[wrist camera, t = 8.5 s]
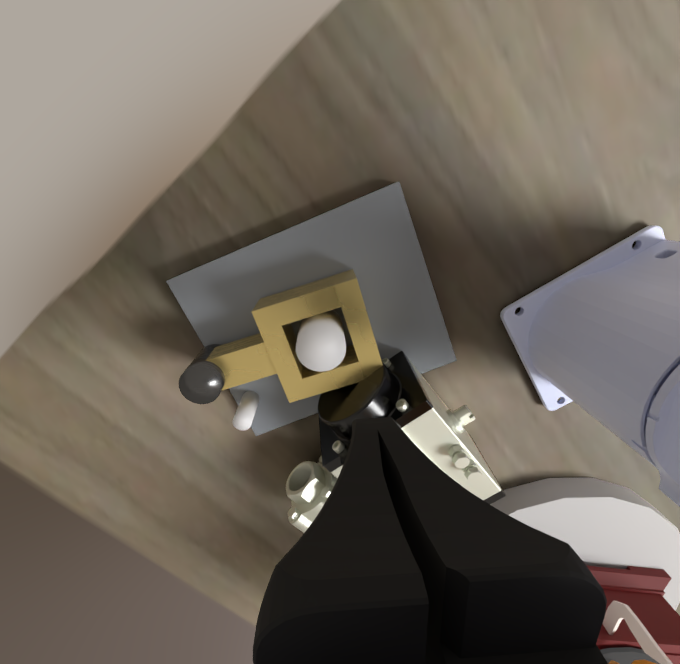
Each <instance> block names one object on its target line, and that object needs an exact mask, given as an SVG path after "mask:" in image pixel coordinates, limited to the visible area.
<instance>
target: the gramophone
mask: <svg viewBox="0 0 680 664" xmlns="http://www.w3.org/2000/svg"><path fill="white" fill-rule="evenodd" d="M503 491H504V492H505V494H506V496H505V497H503V498H501V499H499V500H497V501H496V502H494V503H492V504H491V506H493V507H495V508H496V509H498V510H500V511H502V512H503V513H505V514H507V515H509V516H511V517H513V518H515V519H516V520H518V521H520V522H522V523H524V524H526V525H528V526H530V527H532V528H534V529H537V530H539V531H541V532H543V533H546V534H548V535H550V536H552V537H555V538H557V539H559V540H561V541H564V542H566V543H568V544H569V545H570V546H571V547H572V549H573V550H574V551H575V552H576V553H577V555H578V556H579V557H580V558H581V559H582V561H583V562H584V563H585V565H586V566H587V567H588V569H589V570H590V571H591V573H592V574H593V576H594V577H595V578H596V580H597V581H598V583H599V584H600V585H601V587H602V588H603V590H604V592H605V596H606V599H607V605H606V613H605V617H604V620H603V623H602V626H601V630H600V633H599V636H598V639H597V643H596V645H597V647H598V648H599V650H600V651H601V653H602V655H603V656H604V658H605V659H606V661H607V663H608V664H680V616H679V615H678V613H677V612H676V609H677V607H678V604H679V602H680V533H679V531H678V529H677V527H676V526H674V525H673V524H672V523H671V522H670V521H669V520H668V519H667V518H666V517H665V516H664V515H663V514H661V513H660V512H659V511H658V510H657V509H656V508H655V507H654V506H652V505H651V504H650V503H648V502H647V501H646V500H644V499H643V498H642V497H640V496H639V495H638V494H636V493H635V492H634V491H632V490H631V489H630V488H628V487H624V486H621V485H617V484H614V483H610V482H607V481H603V480H600V479H596V478H593V477H585V478H547V479H543V480H539V481H535V482H532V483H528V484H524V485H520V486H516V487H513V488H509V489H505V490H503Z"/></svg>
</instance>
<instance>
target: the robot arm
mask: <svg viewBox="0 0 680 664" xmlns="http://www.w3.org/2000/svg"><path fill="white" fill-rule="evenodd" d="M635 241H636V245H635V247H633V248H632V244H633V242H635ZM518 307H520V312H519V313H517V314H515V310H516V309H517V308H518ZM500 317H501V320H502V322H503V324H504V326H505V328H506V330H507V332H508V334H509V336H510V338H511V340H512V342H513V344H514V346H515V348H516V350H517V353H518V355H519V357H520V359H521V361H522V363H523V365H524V367H525V369H526V371H527V373H528V375H529V377H530V379H531V381H532V383H533V385H534V387H535V389H536V391H537V393H538V395H539V397H540V399H541V401H542V403H543V405H544V407H545V408H546V409H548V410H550V411H554V410H556V409H558V408H560V407H562V406H564V405H566V404H568V403H570V402H572V401H574V402H575V403H576V404H578V405H579V406H580V407H581V408H583V409H584V410H585V411H586V412H588V413H589V414H590V415H591V416H593V417H594V418H595V419H596V420H598V421H599V422H600V423H601V424H603V425H604V426H605V427H606V428H608V429H609V430H610V431H611V432H613V433H614V434H615V435H616V436H618V437H619V438H620V439H621V440H623V441H624V442H625V443H626V444H628V445H629V446H630V447H631V448H633V449H634V450H635V451H636V452H638V453H639V454H640V455H641V456H643V457H644V458H645V459H646V460H648V461H649V462H650V463H651V464H653V465H654V466H655V467H656V468H657V469H658V470H659V472H660V479H661V480H660V485H659V489H660V490H661V491H662V492H663V493H664V494H665V495H667V496H668V497H669V498H670V499H671V500H672V501H674V502H675V503H676V504H677V505H678V506H679V507H680V241H672V240H665V236H664V233H663V230H662V228H661V227H660V226H656V225H650V226H647V227H645V228H643V229H642V230H640V231H638V232H636V233H635V234H633V235H631V236H629V237H628V238H626V239H624V240H622V241H621V242H619V243H617V244H615V245H614V246H612V247H610V248H608V249H606V250H605V251H603V252H601V253H599V254H598V255H596V256H594V257H592V258H591V259H589V260H587V261H585V262H584V263H582V264H580V265H578V266H577V267H575V268H573V269H571V270H570V271H568V272H566V273H564V274H563V275H561V276H559V277H557V278H556V279H554V280H552V281H550V282H549V283H547V284H545V285H543V286H542V287H540V288H538V289H536V290H535V291H533V292H531V293H529V294H528V295H526V296H524V297H522V298H521V299H519V300H517V301H515V302H514V303H512V304H510V305H508V306H507V307H505V308H504V309H503V310H502V311H501V314H500ZM560 397H561V399H560V400H559V401H557V400H558V398H560ZM606 605H607V599H606V596H605V592H604V590H603V588H602V587H601V585H600V584H599V583H598V581H597V580H596V578H595V577H594V576H593V574H592V573H591V571H590V570H589V569H588V567H587V566H586V565H585V563H584V562H583V561H582V559H581V558H580V557H579V556H578V555H577V553H576V552H575V551H574V550H573V549H572V547H571V546H570V545H569V544H568V543H566V542H564V541H561V540H559V539H557V538H555V537H552V536H550V535H548V534H546V533H543V532H541V531H539V530H537V529H534V528H532V527H530V526H528V525H526V524H524V523H522V522H520V521H518V520H516V519H515V518H513V517H511V516H509V515H507V514H505V513H503V512H502V511H500V510H498V509H496V508H495V507H493V506H491V505H490V504H488V503H487V502H485V501H483V500H482V499H480V498H479V497H477V496H475V495H474V494H472V493H471V492H470V491H468V490H467V489H465V488H464V487H463V486H461V485H460V484H459V483H457V482H456V481H455V480H453V479H452V478H451V477H449V476H448V475H447V474H446V473H444V472H443V471H442V470H441V469H440V468H439V467H438V466H437V465H435V464H434V463H433V462H432V461H431V460H430V459H429V458H428V457H427V456H426V455H425V454H424V453H423V452H422V451H421V450H420V449H419V448H418V447H417V446H416V445H415V444H414V443H413V442H412V441H411V439H410V438H409V437H408V436H407V435H406V434H405V433H404V432H403V430H402V429H401V428H400V427H399V426H398V424H397V423H396V422H395V421H394V420H393V419H392V418H391V417H385V418H367V419H355V420H354V421H353V422H352V437H351V442H350V446H349V449H348V453H347V456H346V459H345V462H344V464H343V467H342V469H341V472H340V474H339V477H338V479H337V481H336V483H335V485H334V487H333V489H332V491H331V493H330V495H329V497H328V499H327V500H326V502H325V504H324V505H323V507H322V509H321V510H320V512H319V513H318V515H317V516H316V518H315V519H314V521H313V522H312V523H311V525H310V526H309V527H308V529H307V530H306V531H305V533H304V534H303V535H302V537H301V538H300V539H299V541H298V542H297V543H296V544H295V545H294V546H293V548H292V549H291V550H290V551H289V552H288V553H287V554H286V555H285V556H284V557H283V559H282V560H281V561H280V562H279V563H278V564H277V565H276V566H275V569H274V571H273V574H272V576H271V579H270V581H269V584H268V586H267V589H266V592H265V595H264V598H263V601H262V604H261V608H260V612H259V616H258V620H257V625H256V632H255V639H254V645H253V663H254V664H608V663H607V661H606V659H605V658H604V656H603V655H602V653H601V651H600V650H599V648H598V647H597V645H596V643H597V639H598V636H599V633H600V630H601V626H602V623H603V620H604V617H605V613H606Z"/></svg>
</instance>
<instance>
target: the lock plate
mask: <svg viewBox="0 0 680 664" xmlns="http://www.w3.org/2000/svg"><path fill="white" fill-rule="evenodd" d="M351 269H353V271H354V273H355V275H356V278H357V281H358V284H359V287H360V291H361V294H362V297H363V301H364V304H365V307H366V311H367V314H368V317H369V321H370V324H371V327H372V331H373V334H374V337H375V341H376V344H377V347H378V351H379V354H380V357H381V360H382V359H384V358H388V359H390V358H391V357H393V356H394V355H396V354H397V353H399V352H400V351H403V352H404V353H405V355H406V356H407V357H408V358H409V360H410V361H411V362H412V363H413V365H414V366H415V367H416V369H417V370H418V371H419V373H420V374H422V373H425V372H427V371H430V370H433V369H435V368H438V367H441V366H443V365H446V364H449V363H451V362H454V361H457V360H456V357H455V354H454V351H453V348H452V344H451V341H450V338H449V335H448V332H447V329H446V326H445V323H444V319H443V316H442V313H441V310H440V307H439V304H438V301H437V298H436V295H435V291H434V288H433V285H432V282H431V279H430V276H429V273H428V270H427V266H426V263H425V260H424V257H423V254H422V251H421V248H420V245H419V241H418V238H417V235H416V232H415V229H414V226H413V223H412V220H411V216H410V213H409V210H408V207H407V204H406V201H405V198H404V195H403V191H402V188H401V185H400V182H395V183H393V184H390V185H388V186H386V187H383V188H381V189H379V190H376V191H374V192H372V193H369V194H367V195H365V196H362V197H360V198H358V199H355V200H353V201H351V202H348V203H346V204H344V205H341V206H339V207H337V208H334V209H332V210H330V211H327V212H325V213H323V214H320V215H318V216H316V217H313V218H311V219H309V220H306V221H304V222H302V223H299V224H297V225H295V226H292V227H290V228H288V229H285V230H283V231H281V232H278V233H276V234H274V235H271V236H269V237H267V238H264V239H262V240H260V241H257V242H255V243H253V244H250V245H248V246H246V247H243V248H241V249H239V250H236V251H234V252H232V253H229V254H227V255H225V256H222V257H220V258H218V259H215V260H213V261H211V262H208V263H206V264H204V265H201V266H199V267H197V268H194V269H192V270H190V271H187V272H185V273H183V274H180V275H178V276H176V277H173V278H171V279H169V280H167V281H166V282H167V284H168V285H169V287H170V289H171V290H172V292H173V294H174V296H175V297H176V299H177V301H178V302H179V304H180V306H181V308H182V309H183V311H184V313H185V314H186V316H187V318H188V320H189V321H190V323H191V325H192V327H193V328H194V330H195V332H196V333H197V335H198V337H199V339H200V340H201V342H202V344H203V345H204V347H206V346H208V345H212V344H218V345H224V344H227V343H230V342H233V341H236V340H240V339H243V338H246V337H249V336H252V335H255V334H259V333H260V331H259V329H258V326H257V324H256V322H255V319H254V317H253V314H252V310H253V308H254V307H255V305H256V304H257V302H258V301H259V299H261V298H264V297H267V296H270V295H273V294H276V293H280V292H283V291H286V290H289V289H292V288H295V287H298V286H301V285H305V284H308V283H311V282H314V281H317V280H320V279H323V278H326V277H330V276H333V275H336V274H339V273H342V272H345V271H348V270H351ZM291 325H292V328H293V330H294V333H295V336H296V338H297V342H296V354H297V357H298V359H299V361H300V362H301V363H302V364H303V365H304V366H305V367H307V368H308V369H311V370H313V371H318V372H323V371H329V370H331V369H334V368H335V367H337V366H338V365H339V364H340V363H341V362H342V360H343V359H344V357H345V354H346V347H347V346H351V345H353V342H352V339H351V336H350V333H349V330H348V327H347V324H346V320H345V317H344V314H343V311H342V308H341V307H340V308H337V309H333V310H330V311H327V312H324V313H321V314H317V315H314V316H311V317H308V318H305V319H302V320H298V321H295V322H292V323H291ZM229 390H230V392H231V394H232V395H233V397H234V399H235V400H236V402H237V404H238V409H237V411H236V413H235V416H234V418H233V425H234V427H235V428H237V429H239V430H247V429H249V428H250V427H251V428H252V430H253V431H254V433H255V435H256V436H258V435H260V434H263V433H265V432H268V431H271V430H273V429H276V428H279V427H281V426H284V425H287V424H289V423H292V422H295V421H297V420H300V419H303V418H305V417H308V416H311V415H313V414H316V413H318V401H319V398H320V395H321V394H318V395H314V396H311V397H308V398H304V399H301V400H298V401H294V402H291V403H289V401H288V399H287V396H286V394H285V391H284V389H283V387H282V384H281V382H280V379H279V377H278V375H277V374H274V375H271V376H268V377H264V378H261V379H258V380H255V381H251V382H248V383H245V384H242V385H238V386H235V387H232V388H229Z"/></svg>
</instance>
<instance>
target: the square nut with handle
mask: <svg viewBox="0 0 680 664" xmlns="http://www.w3.org/2000/svg"><path fill="white" fill-rule="evenodd" d="M340 307H341V308H342V311H343V314H344V317H345V320H346V324H347V327H348V330H349V333H350V336H351V339H352V342H353V345H351V346H347V347H346V354H345V357H344V359H343V360H342V362H341V363H340V364H339V365H338V366H337V367H335V368H334V369H331V370H329V371H323V372H318V371H313V370H311V369H308V368H307V367H305V366H304V365H303V364H302V363H301V362H300V361H299V359H298V357H297V354H296V342H297V338H296V336H295V333H294V330H293V328H292V325H291V323H292V322H295V321H298V320H302V319H305V318H308V317H311V316H314V315H317V314H321V313H324V312H327V311H330V310H333V309H337V308H340ZM252 314H253V317H254V319H255V322H256V324H257V326H258V329H259V331H260V333H259V334H255V335H252V336H249V337H246V338H243V339H240V340H236V341H233V342H230V343H227V344H224V345H218V344H212V345H208V346H206V347H205V348H203V349H202V350H201V352H200V353H199V354H198V355H197V357H196V358H195V359H194V360H193V362H192V363H191V364H190V365H189V366H188V368H187V369H186V370H185V371H184V373H183V374H182V375H181V377H180V379H179V388H180V391H181V393H182V394H183V396H184V397H185V398H186V399H188V400H189V401H191V402H193V403H197V404H207V403H210V402H212V401H214V400H215V399H216V398H217V397H218V396H219V394H220V392H221V391H222V390H225V389H228V388H232V387H235V386H238V385H242V384H245V383H248V382H251V381H255V380H258V379H261V378H264V377H268V376H271V375H274V374H277V375H278V377H279V379H280V382H281V384H282V387H283V389H284V391H285V394H286V396H287V399H288V401H289V403H291V402H294V401H298V400H301V399H304V398H308V397H311V396H314V395H318V394H321V393H324V392H328V391H331V390H335V389H338V388H341V387H345V386H348V385H351V384H355V383H358V382H360V381H362V380H363V379H365V378H366V377H367V376H369V375H370V374H372V373H373V372H374V371H376V370H377V369H379V368H380V367H382V366H383V364H382V361H381V357H380V354H379V351H378V347H377V344H376V341H375V337H374V334H373V331H372V327H371V324H370V321H369V317H368V314H367V311H366V307H365V304H364V301H363V297H362V294H361V291H360V287H359V284H358V281H357V278H356V275H355V273H354V271H353V269H351V270H348V271H345V272H342V273H339V274H336V275H333V276H330V277H326V278H323V279H320V280H317V281H314V282H311V283H308V284H305V285H301V286H298V287H295V288H292V289H289V290H286V291H283V292H280V293H276V294H273V295H270V296H267V297H264V298H261V299H259V301H258V302H257V304H256V305H255V307H254V308H253V310H252Z"/></svg>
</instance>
